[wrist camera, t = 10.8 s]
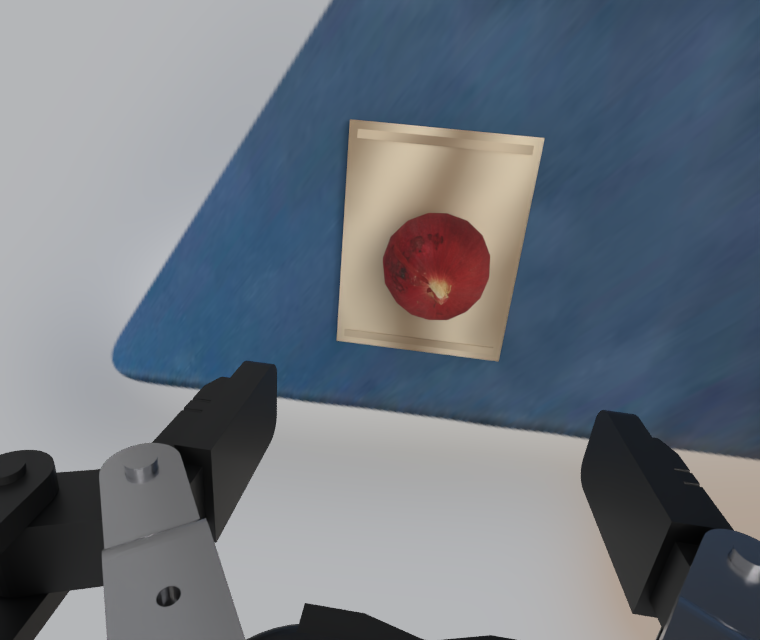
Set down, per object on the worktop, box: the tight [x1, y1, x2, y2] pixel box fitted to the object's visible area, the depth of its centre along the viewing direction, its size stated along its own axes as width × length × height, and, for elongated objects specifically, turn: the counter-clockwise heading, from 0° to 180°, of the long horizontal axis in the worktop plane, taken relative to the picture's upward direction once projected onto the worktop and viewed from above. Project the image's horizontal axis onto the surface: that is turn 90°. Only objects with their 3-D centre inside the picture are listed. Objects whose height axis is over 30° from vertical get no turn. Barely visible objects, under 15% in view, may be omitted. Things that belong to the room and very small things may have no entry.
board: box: [337, 119, 545, 361], centre depth 30 cm, size 11×14×1 cm
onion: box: [383, 213, 490, 320], centre depth 26 cm, size 6×6×8 cm
